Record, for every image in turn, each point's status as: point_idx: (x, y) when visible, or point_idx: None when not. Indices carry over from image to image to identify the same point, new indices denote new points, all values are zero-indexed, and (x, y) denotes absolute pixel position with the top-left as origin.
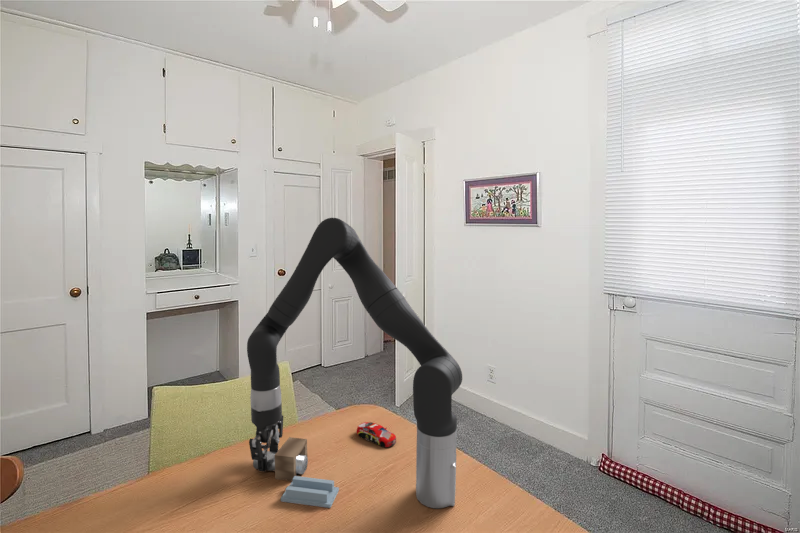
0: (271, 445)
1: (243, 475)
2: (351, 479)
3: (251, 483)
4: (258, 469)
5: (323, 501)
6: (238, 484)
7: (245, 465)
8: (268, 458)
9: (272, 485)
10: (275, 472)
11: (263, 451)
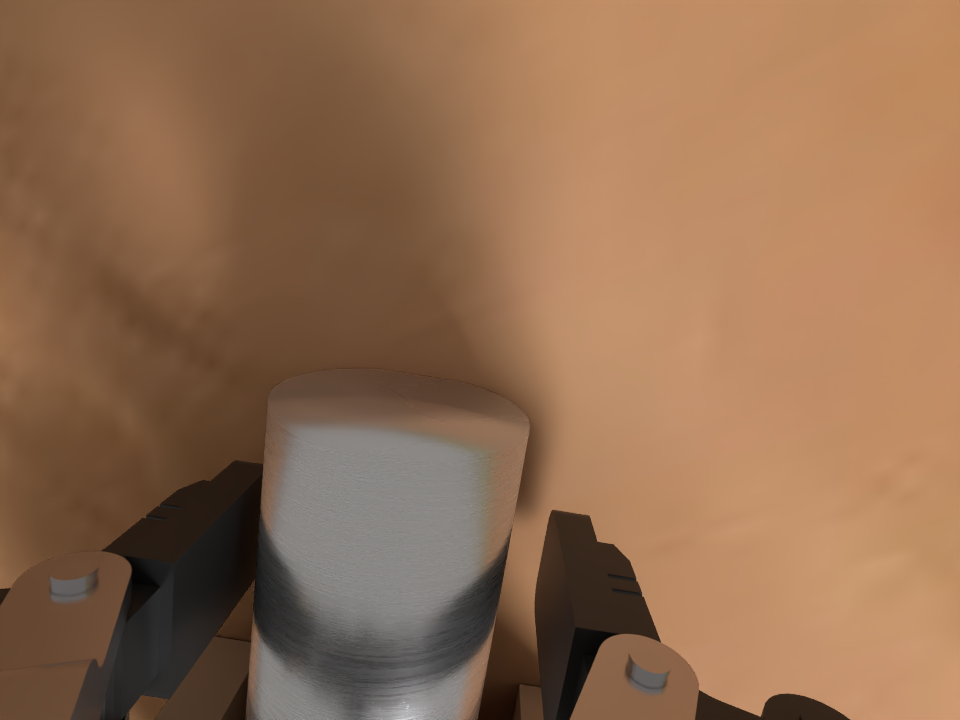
0: (562, 654)
1: (228, 263)
2: None
3: (104, 415)
4: (188, 490)
5: None
6: (60, 272)
7: (434, 203)
8: (265, 652)
9: None
10: (172, 698)
11: (394, 555)
